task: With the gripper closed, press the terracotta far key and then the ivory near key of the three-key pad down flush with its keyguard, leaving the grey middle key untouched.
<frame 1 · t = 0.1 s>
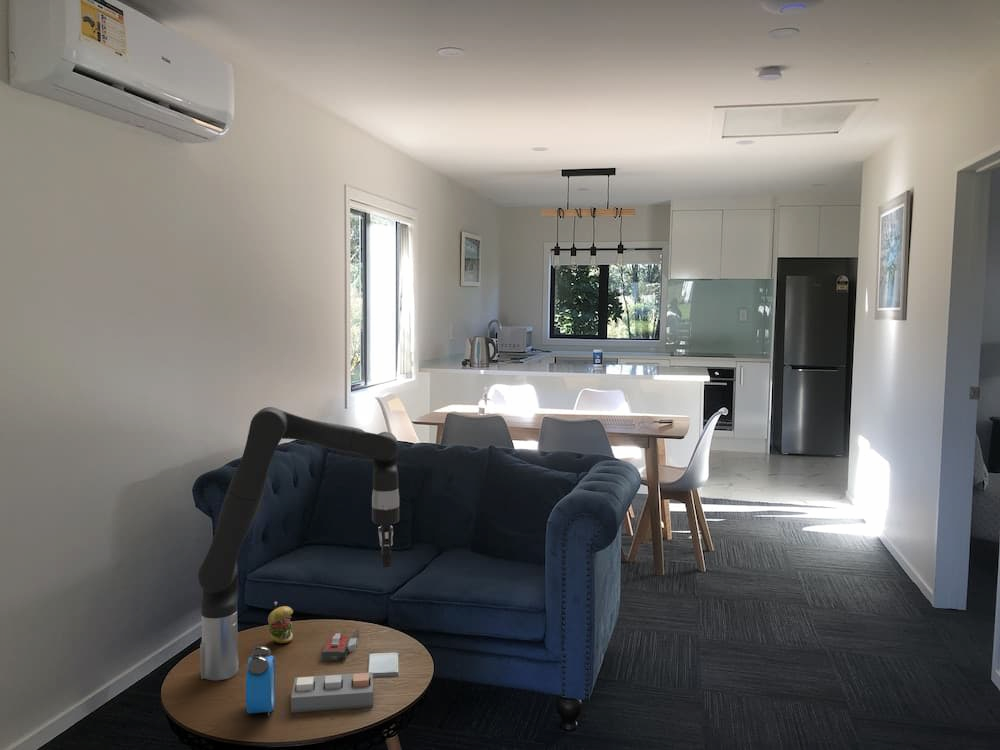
hand: (386, 561, 224), 29 cm above the table, fingers open, 8 cm apart
key far terracotta: (361, 682, 206), point 4 cm above the table, slide at 0.0 cm
hamburger: (281, 641, 240), on the table
keypad: (333, 698, 206), on the table
hard drive: (383, 668, 224), on the table
key near ivory: (305, 686, 204), point 4 cm above the table, slide at 0.0 cm
walkie-talkie: (341, 649, 236), on the table
key mid grey: (333, 684, 205), point 4 cm above the table, slide at 0.0 cm
alarm clock: (261, 710, 200), on the table
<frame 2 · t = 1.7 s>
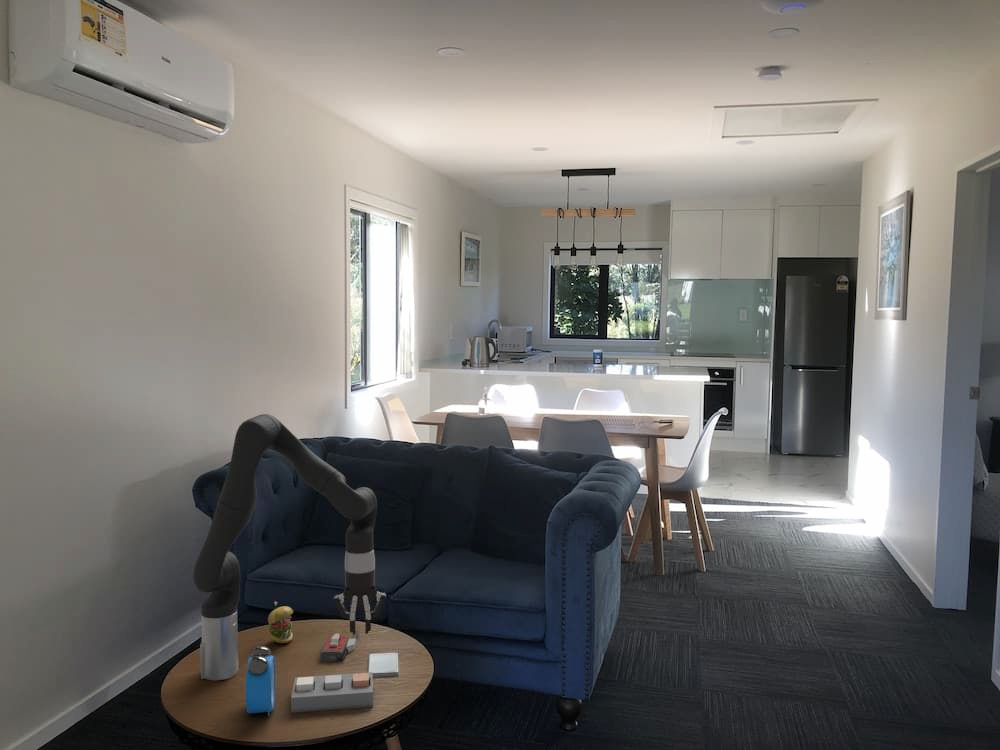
hand: (360, 632, 205), 17 cm above the table, fingers closed
nothing on the table moved.
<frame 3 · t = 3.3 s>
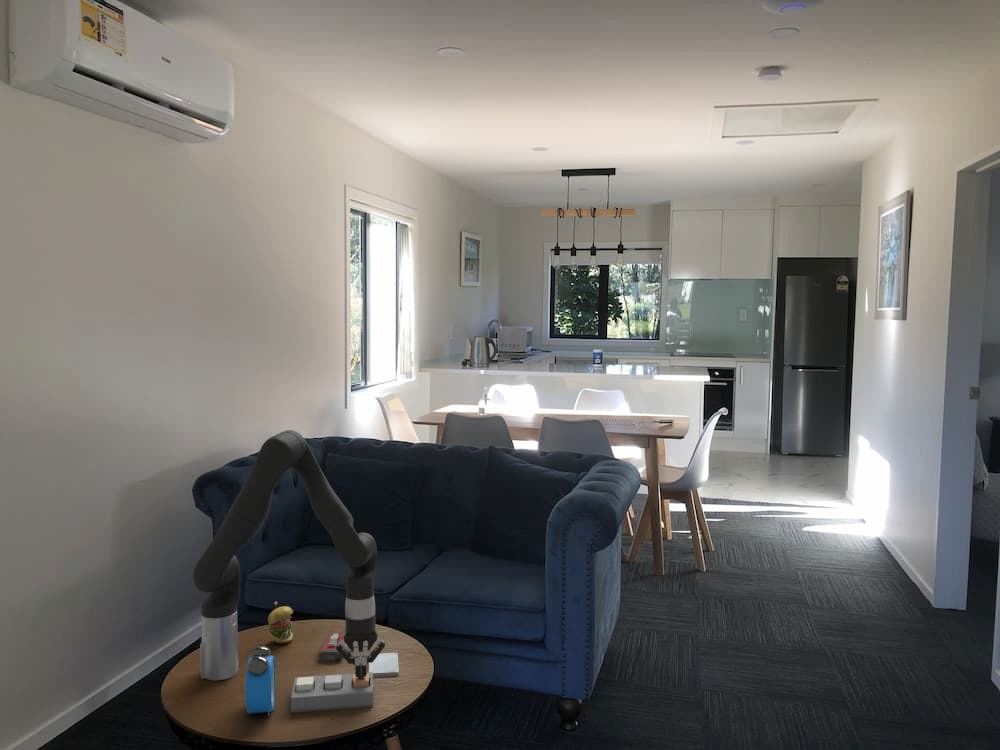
hand: (361, 677, 206), 5 cm above the table, fingers closed
key far terracotta: (361, 683, 206), point 4 cm above the table, slide at 0.2 cm, touching gripper
everything else where it was.
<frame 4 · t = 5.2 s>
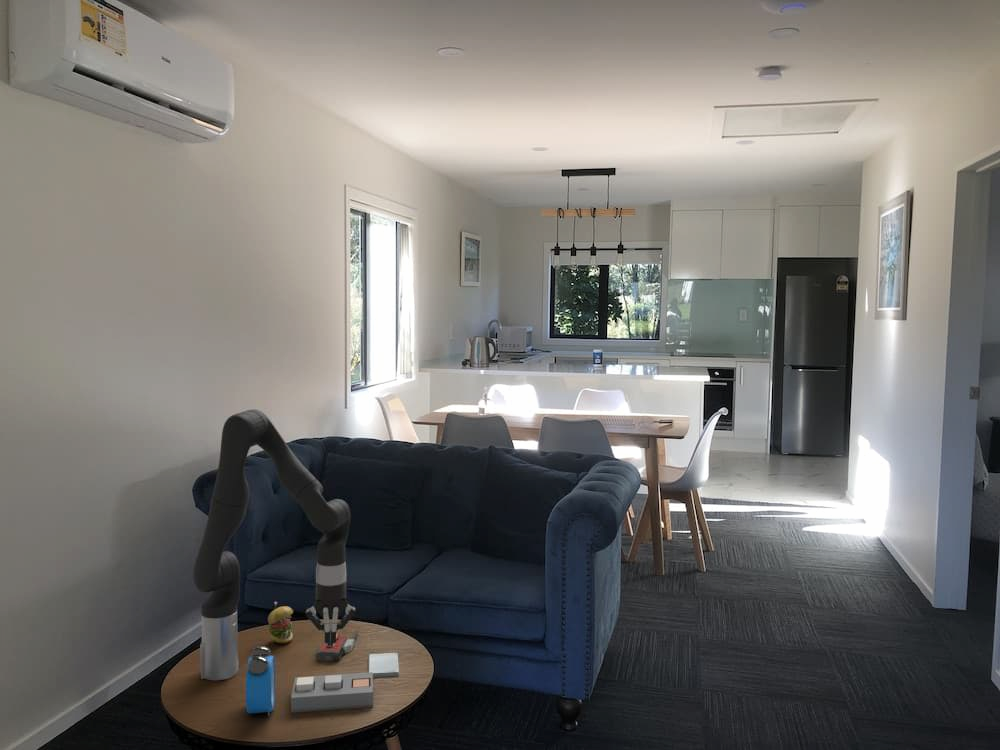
hand: (330, 644, 205), 14 cm above the table, fingers closed
key far terracotta: (361, 688, 206), point 2 cm above the table, slide at 1.6 cm
everything else where it was.
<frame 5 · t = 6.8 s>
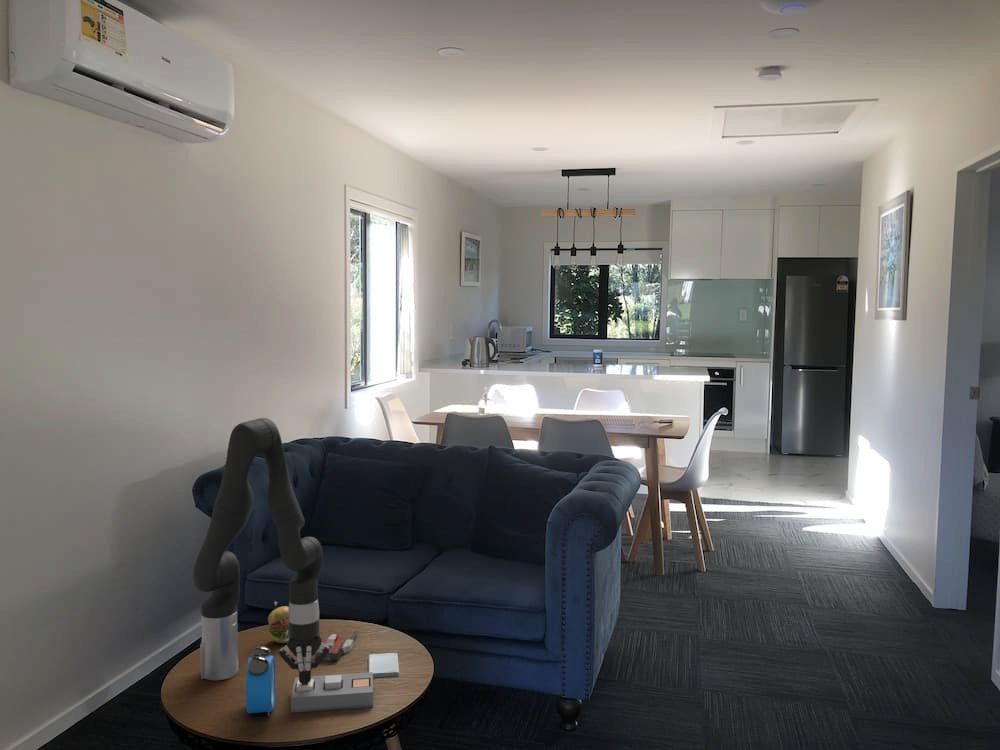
hand: (305, 683, 204), 5 cm above the table, fingers closed
key near ivory: (305, 688, 204), point 3 cm above the table, slide at 0.6 cm, touching gripper
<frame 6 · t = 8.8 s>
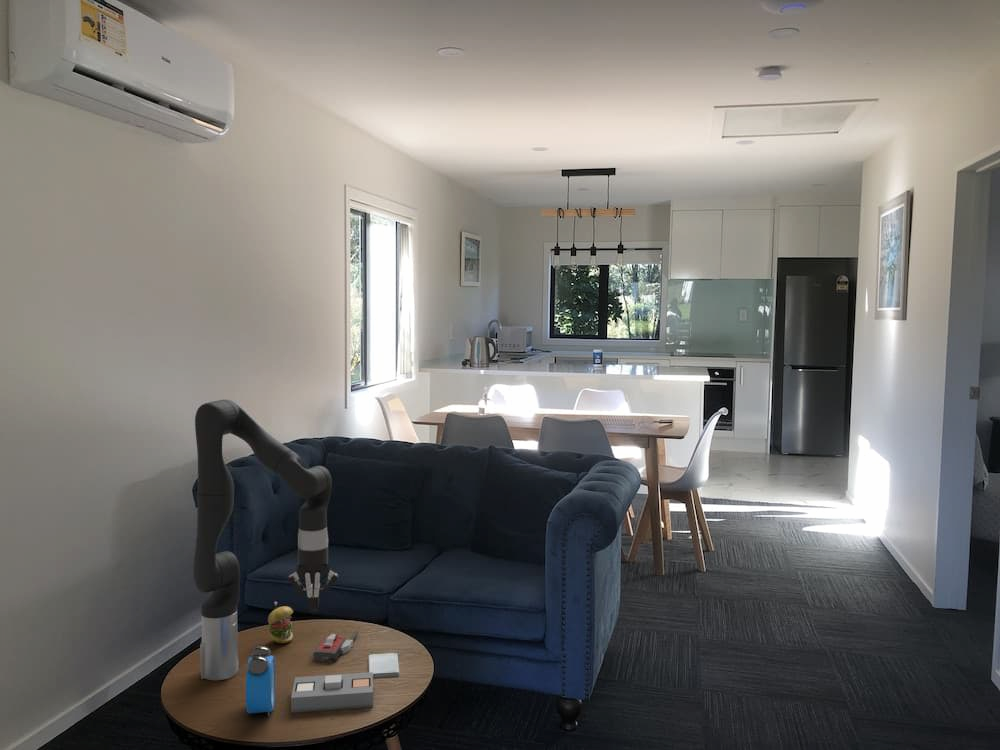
hand: (313, 609, 207), 22 cm above the table, fingers closed
key near ivory: (305, 692, 204), point 2 cm above the table, slide at 1.7 cm
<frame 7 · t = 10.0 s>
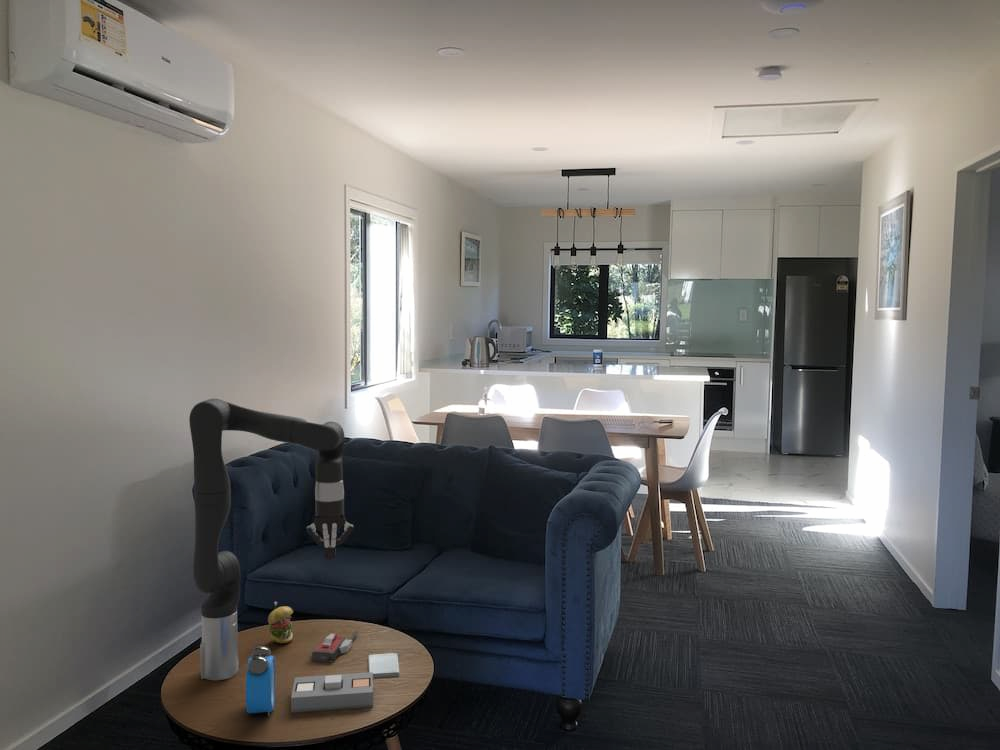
hand: (330, 559, 216), 32 cm above the table, fingers closed
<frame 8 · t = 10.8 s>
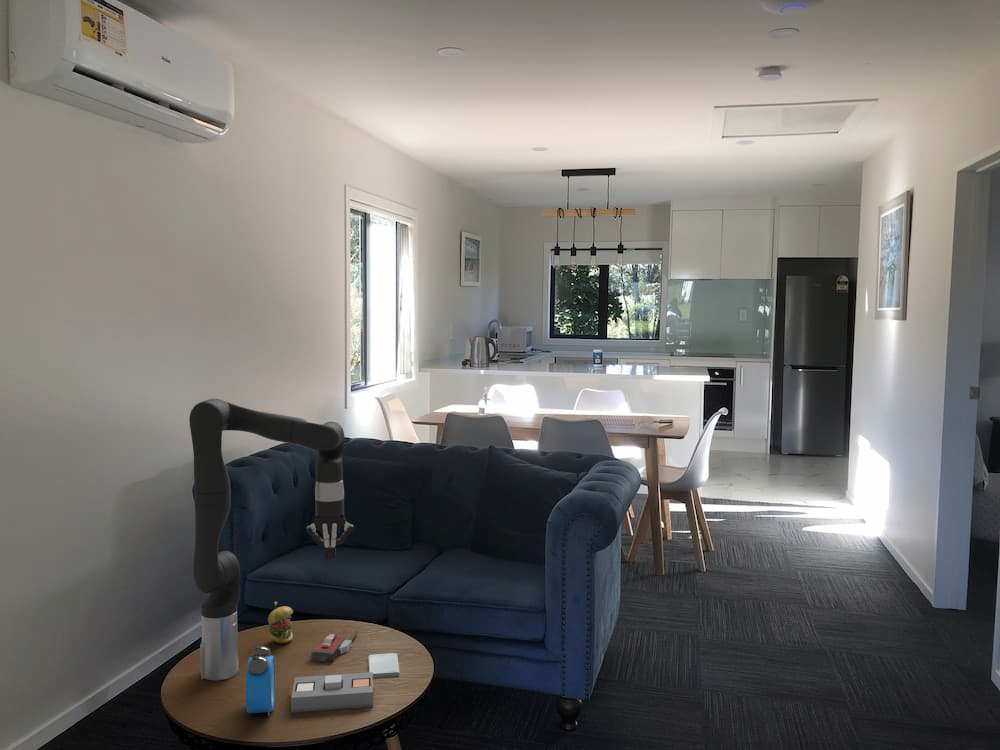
hand: (330, 559, 216), 32 cm above the table, fingers closed
at the end: key far terracotta slide at 1.6 cm; key near ivory slide at 1.7 cm; key mid grey slide at 0.0 cm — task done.
